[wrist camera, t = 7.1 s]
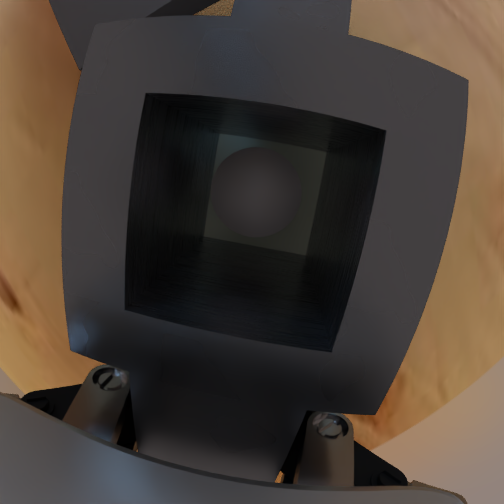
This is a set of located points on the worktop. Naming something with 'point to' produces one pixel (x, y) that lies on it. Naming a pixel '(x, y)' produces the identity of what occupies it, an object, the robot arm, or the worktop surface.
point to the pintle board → (224, 147)
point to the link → (243, 255)
